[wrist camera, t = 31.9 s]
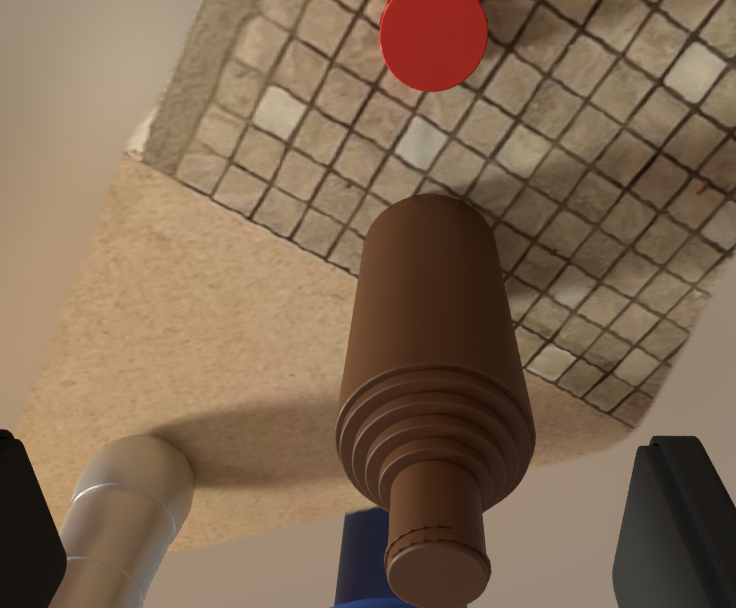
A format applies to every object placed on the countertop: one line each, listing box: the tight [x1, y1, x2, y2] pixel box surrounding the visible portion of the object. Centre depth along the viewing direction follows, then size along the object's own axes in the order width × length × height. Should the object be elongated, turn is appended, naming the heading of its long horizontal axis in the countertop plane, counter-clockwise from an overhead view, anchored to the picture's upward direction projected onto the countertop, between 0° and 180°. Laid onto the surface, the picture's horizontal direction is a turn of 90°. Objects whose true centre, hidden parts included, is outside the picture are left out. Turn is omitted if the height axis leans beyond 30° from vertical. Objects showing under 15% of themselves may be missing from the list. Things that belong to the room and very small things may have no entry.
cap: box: [379, 0, 488, 92], centre depth 26 cm, size 4×4×3 cm
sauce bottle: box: [334, 195, 536, 608], centre depth 25 cm, size 6×6×18 cm
